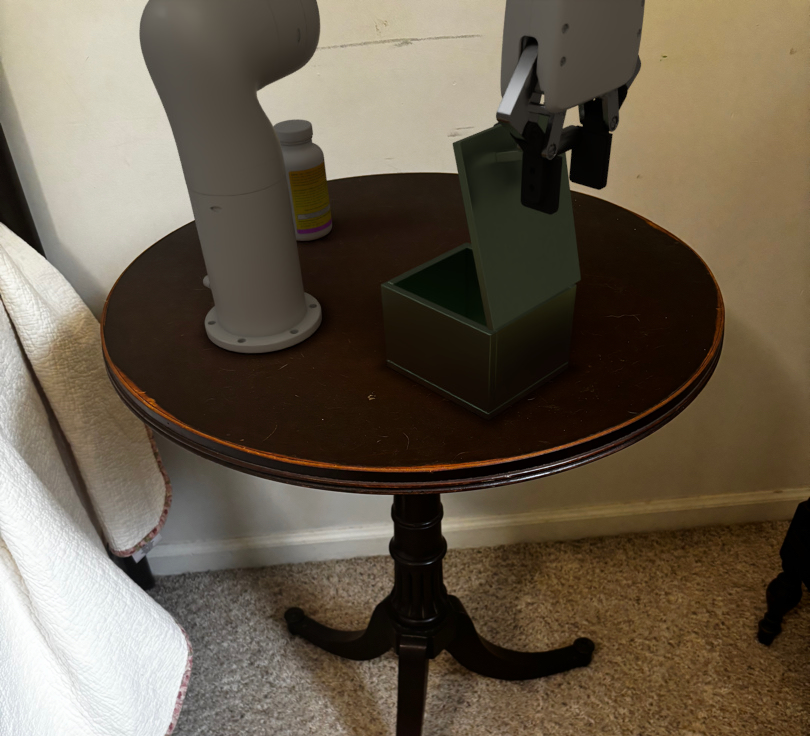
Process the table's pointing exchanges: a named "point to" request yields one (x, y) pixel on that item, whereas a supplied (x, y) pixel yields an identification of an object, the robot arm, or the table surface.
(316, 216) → the supplement bottle
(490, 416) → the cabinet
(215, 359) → the table surface
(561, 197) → the lid
